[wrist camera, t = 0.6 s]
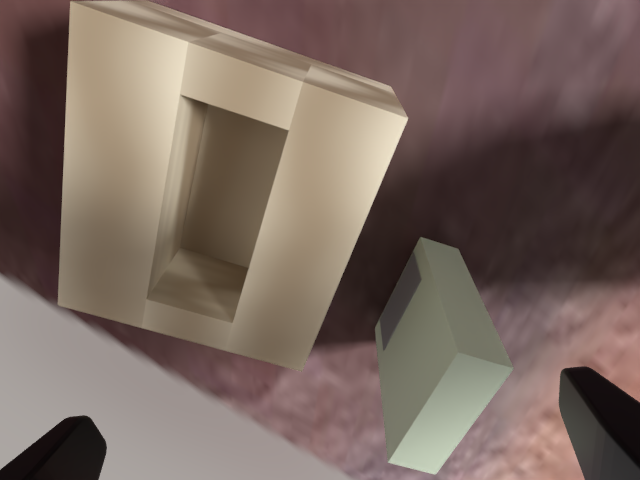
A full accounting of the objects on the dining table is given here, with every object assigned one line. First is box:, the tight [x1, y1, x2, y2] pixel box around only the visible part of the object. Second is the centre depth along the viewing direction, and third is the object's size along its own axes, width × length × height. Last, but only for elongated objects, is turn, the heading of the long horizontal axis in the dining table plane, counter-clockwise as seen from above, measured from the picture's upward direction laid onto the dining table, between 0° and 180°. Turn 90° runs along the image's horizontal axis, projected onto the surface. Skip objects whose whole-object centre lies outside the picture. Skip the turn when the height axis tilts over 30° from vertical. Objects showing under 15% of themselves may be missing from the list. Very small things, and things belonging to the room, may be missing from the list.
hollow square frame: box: [58, 1, 408, 371], centre depth 18 cm, size 10×11×6 cm
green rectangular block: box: [375, 237, 514, 475], centre depth 19 cm, size 2×6×8 cm, turn 162°
